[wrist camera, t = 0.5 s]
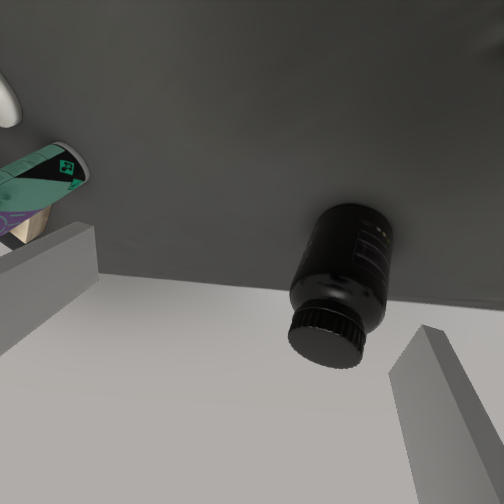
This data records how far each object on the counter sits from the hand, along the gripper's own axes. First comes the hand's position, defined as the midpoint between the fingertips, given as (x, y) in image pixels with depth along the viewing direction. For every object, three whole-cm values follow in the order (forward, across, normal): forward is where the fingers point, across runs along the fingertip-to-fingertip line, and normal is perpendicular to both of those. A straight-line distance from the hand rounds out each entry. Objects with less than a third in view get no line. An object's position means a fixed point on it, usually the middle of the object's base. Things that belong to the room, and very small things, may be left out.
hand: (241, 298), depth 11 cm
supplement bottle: (+16, +7, -2) cm, 18 cm away
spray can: (+22, -28, -5) cm, 36 cm away
